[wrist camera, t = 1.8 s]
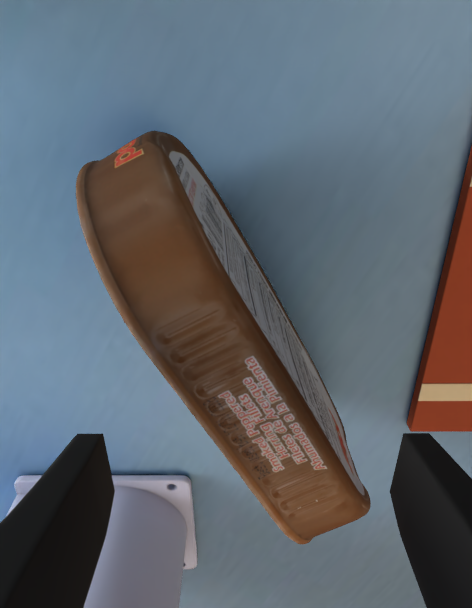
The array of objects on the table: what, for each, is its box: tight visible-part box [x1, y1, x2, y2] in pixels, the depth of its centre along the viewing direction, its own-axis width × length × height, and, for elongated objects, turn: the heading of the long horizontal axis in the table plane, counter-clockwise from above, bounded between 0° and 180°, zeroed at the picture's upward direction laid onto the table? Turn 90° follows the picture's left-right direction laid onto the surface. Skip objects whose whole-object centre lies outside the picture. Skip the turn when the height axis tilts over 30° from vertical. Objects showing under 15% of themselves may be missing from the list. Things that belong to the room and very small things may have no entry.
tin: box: [76, 131, 370, 544], centre depth 15 cm, size 15×3×8 cm, turn 28°
